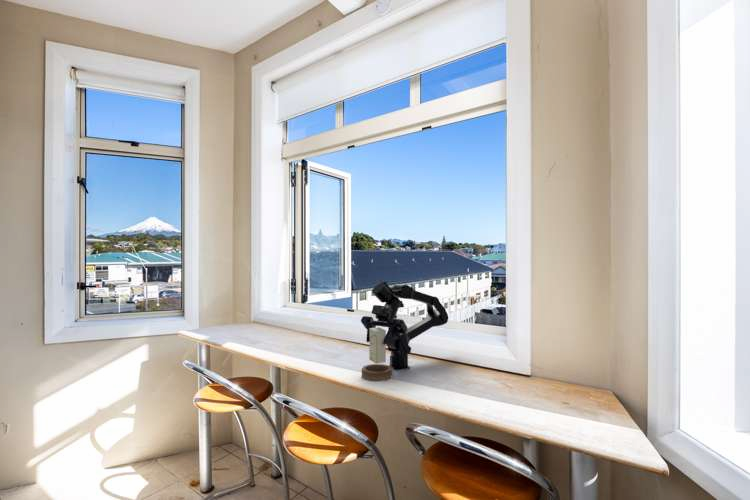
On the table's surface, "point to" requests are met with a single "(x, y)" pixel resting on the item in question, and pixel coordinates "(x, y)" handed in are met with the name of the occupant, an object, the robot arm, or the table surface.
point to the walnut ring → (377, 372)
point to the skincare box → (377, 345)
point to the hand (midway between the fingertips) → (375, 342)
